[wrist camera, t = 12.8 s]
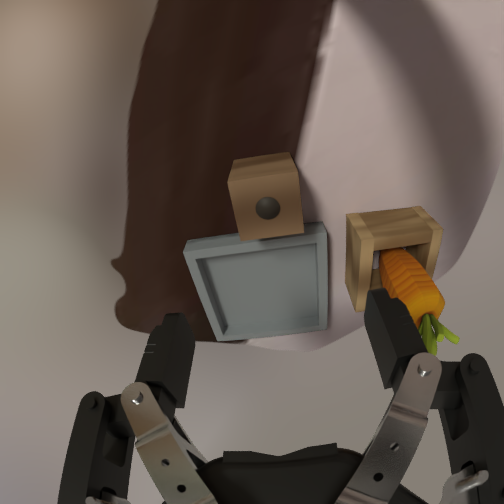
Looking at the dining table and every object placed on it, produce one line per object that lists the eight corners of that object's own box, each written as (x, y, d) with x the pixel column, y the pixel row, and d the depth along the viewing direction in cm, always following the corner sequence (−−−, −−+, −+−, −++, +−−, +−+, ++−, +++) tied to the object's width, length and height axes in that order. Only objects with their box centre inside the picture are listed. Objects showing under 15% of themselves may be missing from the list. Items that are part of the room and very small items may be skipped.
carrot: (410, 234, 28) (477, 334, 16) (388, 267, 31) (437, 372, 18) (378, 219, 27) (445, 327, 15) (355, 256, 30) (401, 370, 18)
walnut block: (233, 160, 25) (227, 182, 19) (289, 151, 24) (298, 172, 19) (243, 208, 27) (240, 242, 22) (295, 201, 27) (304, 233, 22)
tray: (187, 240, 29) (182, 252, 27) (322, 221, 28) (326, 232, 26) (219, 328, 37) (217, 341, 35) (324, 316, 35) (327, 329, 34)
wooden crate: (346, 214, 27) (361, 240, 23) (420, 206, 26) (443, 228, 22) (345, 282, 32) (355, 312, 28) (410, 271, 31) (426, 298, 27)
